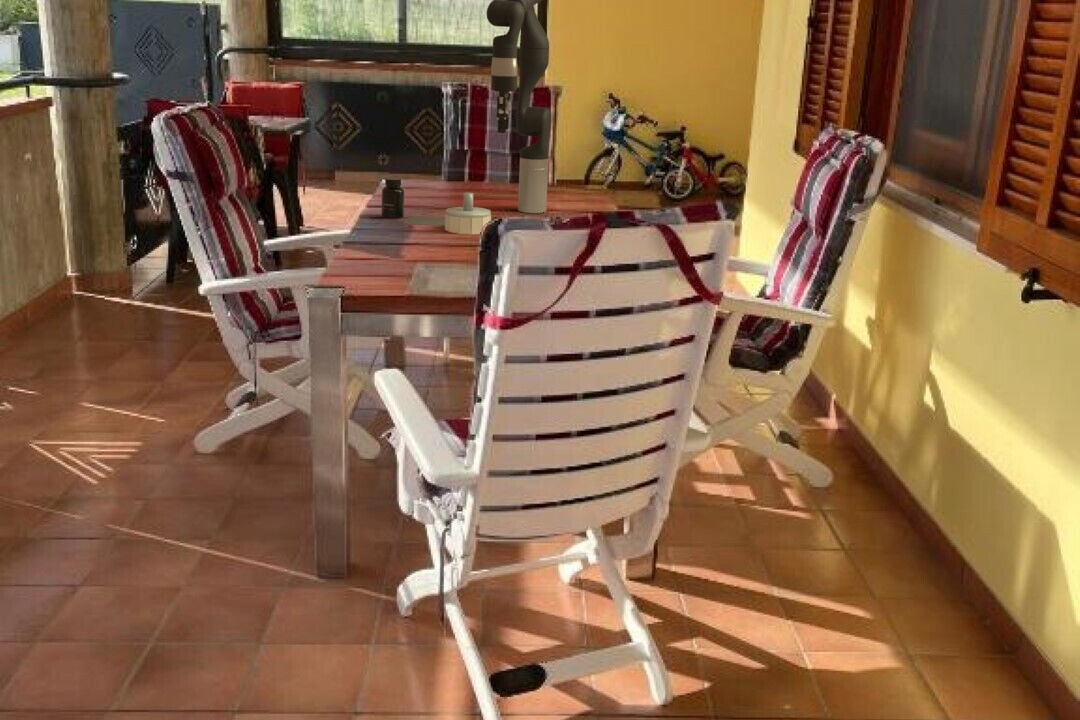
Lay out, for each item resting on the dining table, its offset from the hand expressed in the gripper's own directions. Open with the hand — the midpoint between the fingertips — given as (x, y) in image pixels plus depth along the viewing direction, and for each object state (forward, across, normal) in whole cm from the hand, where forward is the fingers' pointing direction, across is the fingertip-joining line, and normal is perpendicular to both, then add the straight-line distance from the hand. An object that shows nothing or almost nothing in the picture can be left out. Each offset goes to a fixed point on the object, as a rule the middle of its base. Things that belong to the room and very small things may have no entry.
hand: (503, 131), depth 309 cm
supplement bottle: (+28, +2, +34) cm, 44 cm away
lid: (+23, -12, +8) cm, 27 cm away
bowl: (+28, -12, +8) cm, 31 cm away
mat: (+28, -1, +22) cm, 35 cm away
